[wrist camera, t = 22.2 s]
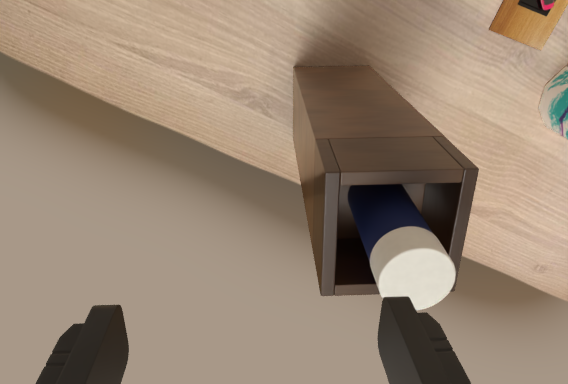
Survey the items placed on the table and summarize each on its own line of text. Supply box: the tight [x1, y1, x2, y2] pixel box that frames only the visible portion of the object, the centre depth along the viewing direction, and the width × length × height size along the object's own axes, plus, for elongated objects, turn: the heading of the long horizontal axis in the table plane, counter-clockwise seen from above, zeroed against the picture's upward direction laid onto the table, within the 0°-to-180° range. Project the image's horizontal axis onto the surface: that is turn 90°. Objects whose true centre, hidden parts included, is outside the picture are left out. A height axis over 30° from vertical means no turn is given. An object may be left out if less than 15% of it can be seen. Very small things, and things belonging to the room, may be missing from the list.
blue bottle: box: [348, 184, 456, 310], centre depth 25 cm, size 4×4×9 cm
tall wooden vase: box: [293, 66, 479, 296], centre depth 37 cm, size 8×8×27 cm
